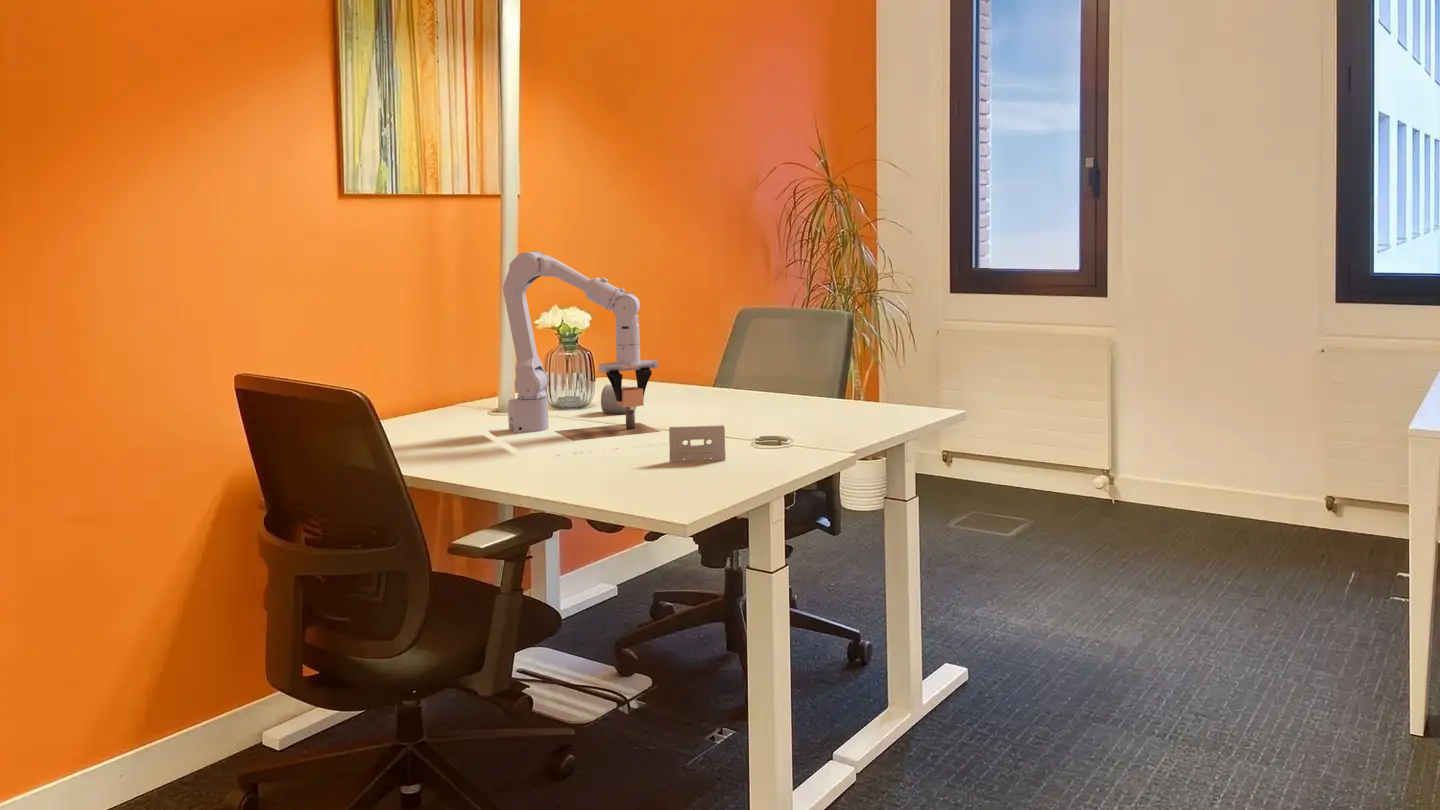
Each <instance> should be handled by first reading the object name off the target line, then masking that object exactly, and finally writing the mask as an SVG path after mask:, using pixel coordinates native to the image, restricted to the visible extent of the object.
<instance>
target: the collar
mask: <svg viewBox="0 0 1440 810" xmlns="http://www.w3.org/2000/svg"><path fill="white" fill-rule="evenodd" d="M621 390H622V402H618V401H617V405H619V406H622V407H634V406H637V407H642V406H644V405H645V404H644V399H643V389H641V388H638V387H637V386H625V388H621Z"/></svg>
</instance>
